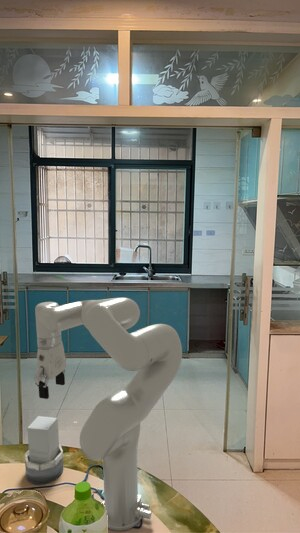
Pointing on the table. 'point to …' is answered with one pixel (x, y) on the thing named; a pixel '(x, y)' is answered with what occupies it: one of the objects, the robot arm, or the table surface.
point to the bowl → (44, 469)
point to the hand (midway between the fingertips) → (52, 391)
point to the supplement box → (43, 439)
